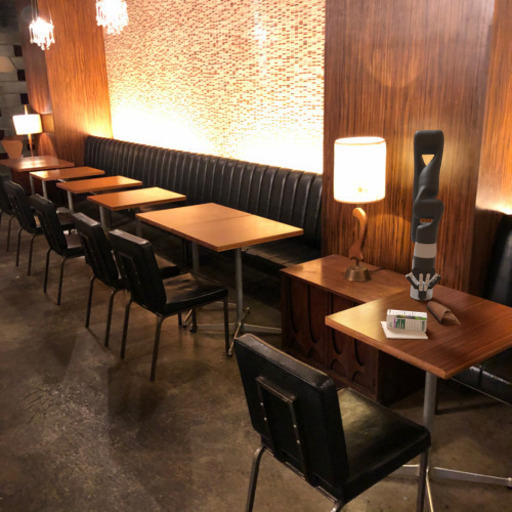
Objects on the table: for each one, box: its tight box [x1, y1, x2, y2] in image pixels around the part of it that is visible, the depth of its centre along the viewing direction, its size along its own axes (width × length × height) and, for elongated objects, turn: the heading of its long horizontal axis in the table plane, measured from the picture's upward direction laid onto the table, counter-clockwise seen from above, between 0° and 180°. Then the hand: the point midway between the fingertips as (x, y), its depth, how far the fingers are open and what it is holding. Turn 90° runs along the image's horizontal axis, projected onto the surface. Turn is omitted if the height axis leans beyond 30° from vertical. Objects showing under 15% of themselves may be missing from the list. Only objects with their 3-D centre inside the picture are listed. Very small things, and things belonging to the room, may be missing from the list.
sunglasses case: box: [425, 300, 461, 325], centre depth 216 cm, size 18×7×7 cm, turn 1°
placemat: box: [380, 320, 429, 340], centre depth 202 cm, size 15×14×1 cm
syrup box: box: [385, 309, 428, 333], centre depth 203 cm, size 6×6×14 cm
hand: (421, 299), depth 198 cm, fingers closed
